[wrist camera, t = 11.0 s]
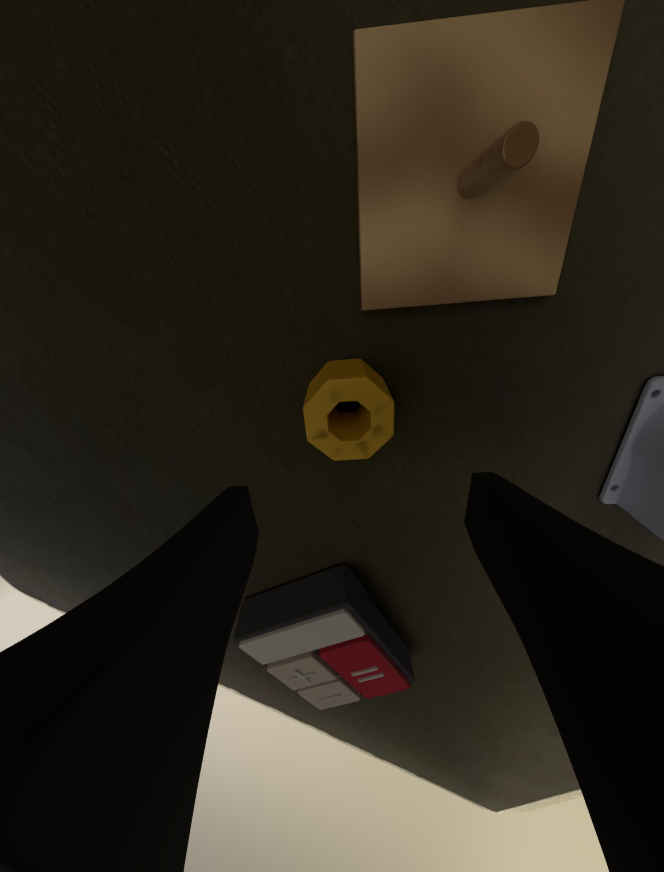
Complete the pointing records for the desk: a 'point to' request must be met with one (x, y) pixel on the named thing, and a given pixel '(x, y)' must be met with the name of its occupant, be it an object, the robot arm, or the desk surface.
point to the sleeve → (348, 429)
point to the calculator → (325, 639)
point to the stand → (475, 149)
